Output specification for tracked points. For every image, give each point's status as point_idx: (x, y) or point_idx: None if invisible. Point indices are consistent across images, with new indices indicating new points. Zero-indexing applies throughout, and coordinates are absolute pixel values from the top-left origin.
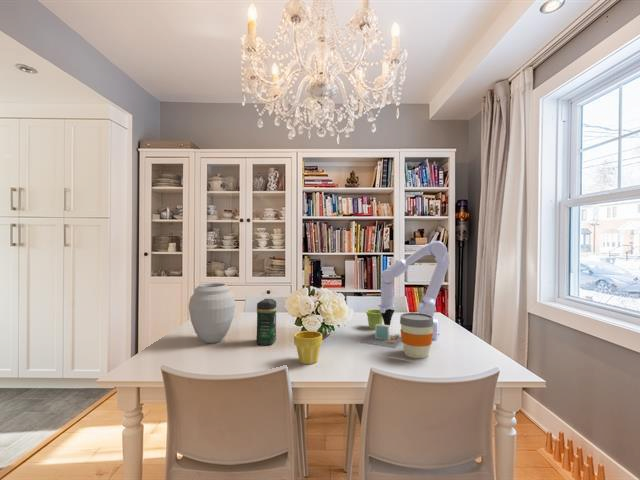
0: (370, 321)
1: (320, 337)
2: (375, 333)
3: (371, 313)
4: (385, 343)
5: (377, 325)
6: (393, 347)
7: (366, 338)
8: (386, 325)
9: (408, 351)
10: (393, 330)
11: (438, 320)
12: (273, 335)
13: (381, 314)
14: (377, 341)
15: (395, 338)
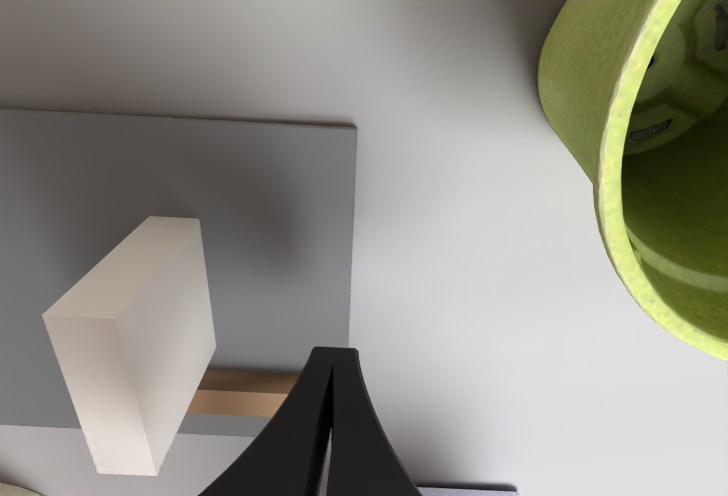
0: (600, 9)
1: None
2: (336, 158)
3: (615, 86)
4: (48, 346)
5: (58, 335)
6: (3, 416)
7: (49, 121)
8: (118, 446)
9: None
10: (602, 295)
11: None
12: None
13: (207, 487)
14: (46, 268)
15: (204, 405)
